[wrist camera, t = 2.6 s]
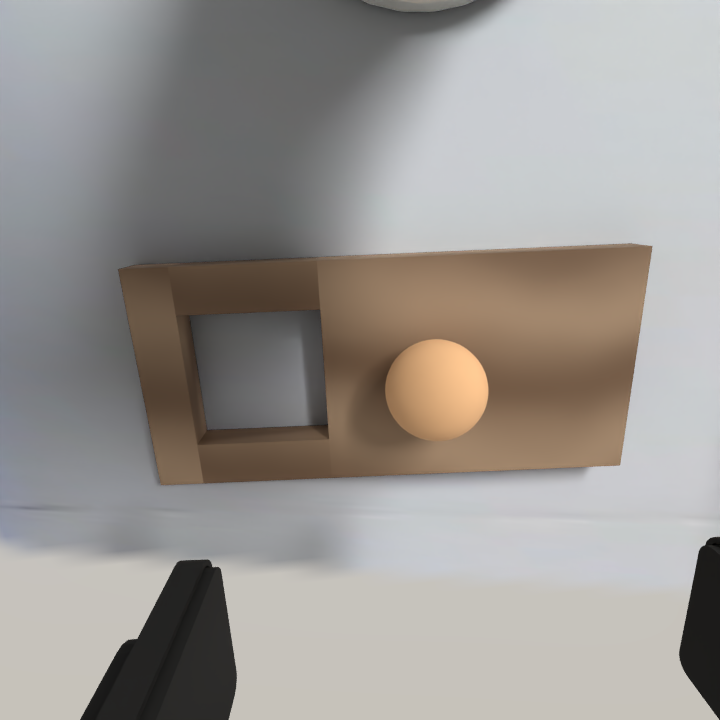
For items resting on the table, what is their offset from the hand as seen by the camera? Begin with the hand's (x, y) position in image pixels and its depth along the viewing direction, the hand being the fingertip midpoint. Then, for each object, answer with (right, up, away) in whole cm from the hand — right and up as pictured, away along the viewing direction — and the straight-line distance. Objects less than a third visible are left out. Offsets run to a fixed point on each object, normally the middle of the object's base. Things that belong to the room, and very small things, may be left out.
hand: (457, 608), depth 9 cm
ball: (+1, +4, +9) cm, 10 cm away
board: (-1, +5, +13) cm, 13 cm away
